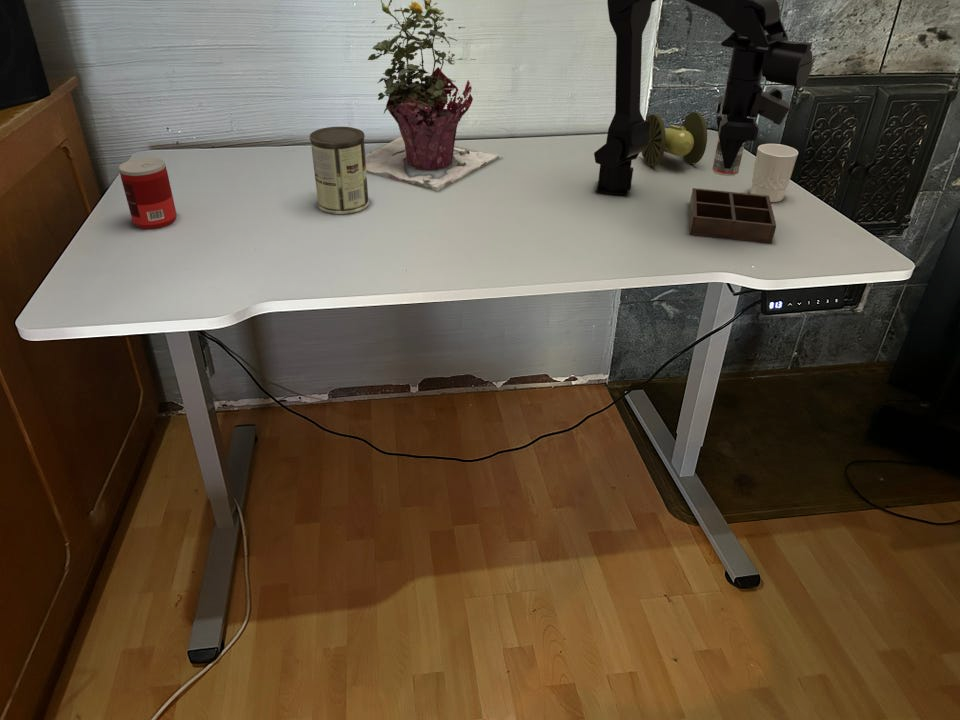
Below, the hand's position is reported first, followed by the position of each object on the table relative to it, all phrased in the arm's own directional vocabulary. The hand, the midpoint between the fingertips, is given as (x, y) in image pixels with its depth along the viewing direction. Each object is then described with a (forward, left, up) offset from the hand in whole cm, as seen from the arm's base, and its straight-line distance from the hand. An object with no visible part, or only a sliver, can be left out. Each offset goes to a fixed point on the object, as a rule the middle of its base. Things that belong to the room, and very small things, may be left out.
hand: (726, 163), depth 139 cm
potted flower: (-65, +17, -12) cm, 68 cm away
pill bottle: (0, 0, -2) cm, 2 cm away
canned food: (-104, -28, -12) cm, 108 cm away
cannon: (-12, +37, -12) cm, 41 cm away
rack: (+3, +1, -12) cm, 12 cm away
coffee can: (-73, -11, -12) cm, 74 cm away
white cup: (+11, +17, -12) cm, 24 cm away
